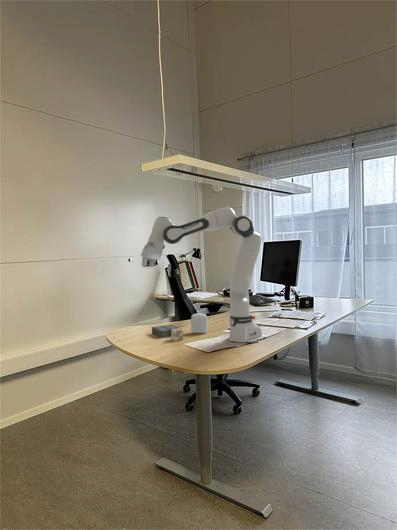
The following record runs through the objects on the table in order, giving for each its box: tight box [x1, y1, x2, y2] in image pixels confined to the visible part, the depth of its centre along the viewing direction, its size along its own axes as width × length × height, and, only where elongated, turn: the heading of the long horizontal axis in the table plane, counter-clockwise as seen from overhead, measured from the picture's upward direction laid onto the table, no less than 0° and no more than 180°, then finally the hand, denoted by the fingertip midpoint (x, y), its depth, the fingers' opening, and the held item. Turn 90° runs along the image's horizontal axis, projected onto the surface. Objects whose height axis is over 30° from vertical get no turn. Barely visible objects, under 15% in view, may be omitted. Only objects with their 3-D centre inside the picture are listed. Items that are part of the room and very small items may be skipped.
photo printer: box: [190, 313, 208, 334], centre depth 226 cm, size 10×4×12 cm, turn 84°
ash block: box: [171, 327, 184, 342], centre depth 211 cm, size 5×5×6 cm
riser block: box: [151, 324, 182, 339], centre depth 225 cm, size 14×14×4 cm
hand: (147, 265), depth 206 cm, fingers open, 8 cm apart
